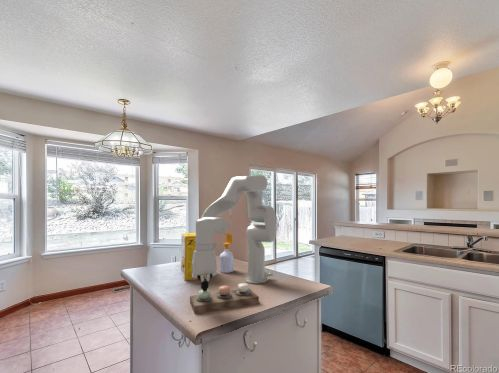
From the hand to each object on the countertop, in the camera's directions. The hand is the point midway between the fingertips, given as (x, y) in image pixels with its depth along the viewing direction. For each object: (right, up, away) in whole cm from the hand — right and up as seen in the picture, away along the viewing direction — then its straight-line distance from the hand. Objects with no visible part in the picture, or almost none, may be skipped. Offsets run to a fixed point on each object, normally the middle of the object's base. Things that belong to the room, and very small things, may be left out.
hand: (204, 290), depth 111 cm
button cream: (+17, -3, +6) cm, 18 cm away
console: (+8, -7, +3) cm, 11 cm away
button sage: (0, -3, 0) cm, 3 cm away
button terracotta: (+8, -2, +3) cm, 9 cm away
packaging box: (-13, -10, +47) cm, 49 cm away
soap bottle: (+5, -10, +56) cm, 57 cm away
